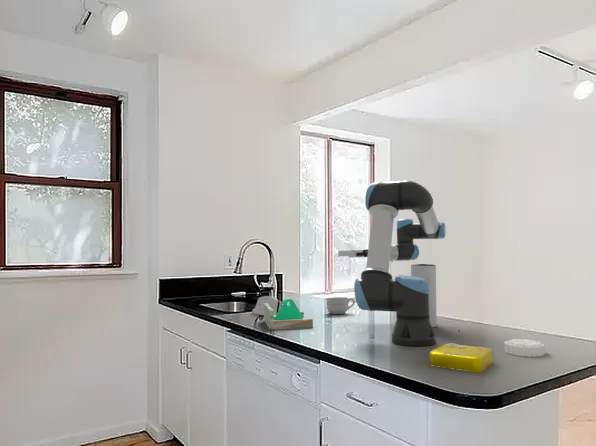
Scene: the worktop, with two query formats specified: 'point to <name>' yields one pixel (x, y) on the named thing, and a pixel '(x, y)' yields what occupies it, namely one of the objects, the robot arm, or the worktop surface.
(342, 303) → the teacup
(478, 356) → the element tile
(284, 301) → the camera mount
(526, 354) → the mooncake
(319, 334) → the worktop surface
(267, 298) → the grey rounded piece
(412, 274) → the speaker
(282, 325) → the dock
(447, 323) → the worktop surface
